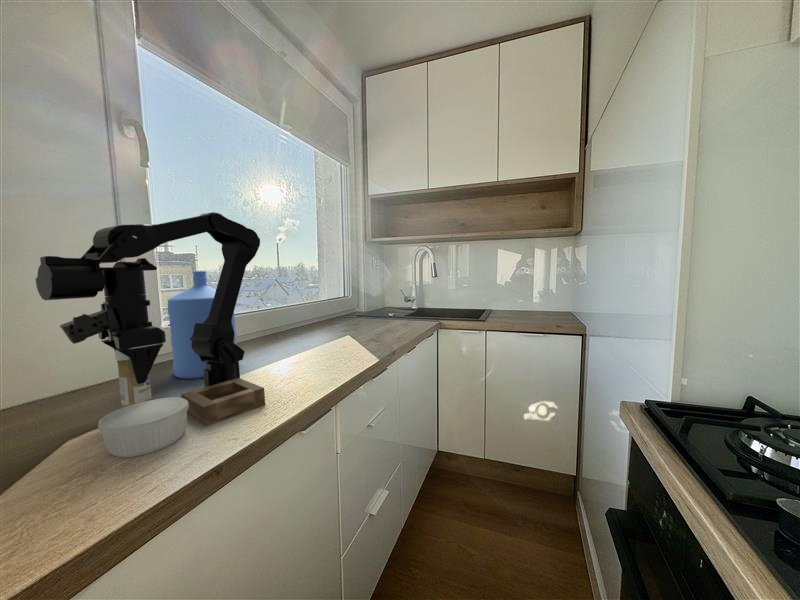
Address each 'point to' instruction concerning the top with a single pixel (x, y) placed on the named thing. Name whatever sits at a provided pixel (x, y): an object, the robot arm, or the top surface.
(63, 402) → the top surface
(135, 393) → the sprinkles bottle
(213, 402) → the socket block
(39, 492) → the top surface
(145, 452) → the ramekin
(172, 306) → the water jug
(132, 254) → the robot arm
